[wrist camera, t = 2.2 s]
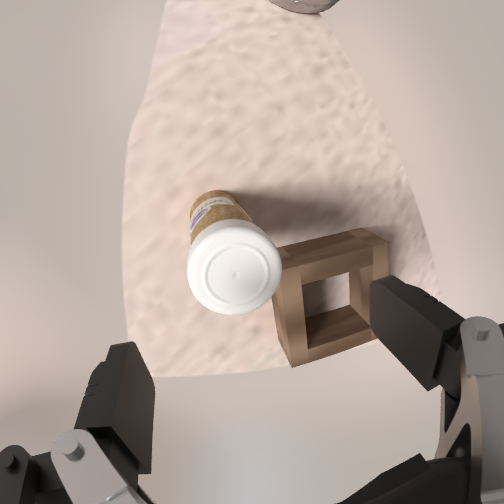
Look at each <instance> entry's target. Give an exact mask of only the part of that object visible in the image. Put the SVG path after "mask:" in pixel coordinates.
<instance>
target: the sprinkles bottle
mask: <svg viewBox="0 0 504 504" xmlns="http://www.w3.org/2000/svg"><path fill="white" fill-rule="evenodd" d="M190 240H191V248H190V250H189V254H188V261H187V273H188V281H189V285H190V288H191V290H192V292H193V294H194V295H195V297H196V298H197V299H198V300H199V301H200V303H202V304H203V305H204V306H205V307H207V308H208V309H210V310H212V311H215V312H217V313H221V314H226V315H239V314H244V313H248V312H251V311H253V310H255V309H257V308H259V307H261V306H262V305H263V304H265V303H266V302H267V301H268V300H269V299H270V298H271V297H272V296H273V294H274V293H275V291H276V289H277V287H278V285H279V282H280V279H281V274H282V263H281V258H280V255H279V252H278V250H277V248H276V246H275V245H274V243H273V242H272V241H271V239H270V238H269V237H268V235H267V234H266V233H265V232H264V231H263V230H262V229H261V228H259V227H258V226H256V225H255V223H254V222H253V220H252V219H251V218H250V217H249V216H248V214H247V213H246V212H245V211H244V210H243V209H242V208H241V207H240V206H239V205H238V203H237V201H236V200H235V199H234V198H233V197H232V196H231V195H229V194H227V193H225V192H222V191H210V192H207V193H205V194H203V195H202V196H200V197H199V198H197V199H196V201H195V202H194V203H193V205H192V208H191V212H190Z"/></svg>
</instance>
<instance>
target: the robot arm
mask: <svg viewBox="0 0 504 504" xmlns="http://www.w3.org/2000/svg"><path fill="white" fill-rule="evenodd" d="M270 1H271V2H273V3H275V4H276V5H278V6H280V7H282V8H285V9H287V10H291V11H295V12H299V13H318V12H323V11H325V10H327V9H329V8H331V7H332V6H333V5H334V4H335V3H336V2H338V1H339V0H270ZM369 320H370V326H371V329H372V331H373V333H374V335H375V336H376V337H377V338H378V339H379V340H380V341H381V342H382V343H383V344H384V345H385V346H386V347H387V348H388V349H389V350H390V351H391V353H392V354H393V355H394V356H395V357H396V358H397V359H398V360H399V361H400V362H401V363H402V364H403V365H404V366H405V367H406V368H407V370H409V372H410V373H411V374H412V375H413V376H414V377H415V378H416V379H417V380H418V381H419V383H420V384H421V385H422V386H423V387H424V388H425V389H426V390H427V391H429V390H431V389H433V388H434V387H436V386H438V385H441V386H442V387H443V389H442V393H441V420H440V438H439V444H438V448H437V451H436V454H435V458H434V459H432V460H428V461H425V459H424V458H423V457H422V455H421V454H420V453H419V454H417V455H416V456H414V457H412V458H410V459H409V460H407V461H405V462H403V463H401V464H399V465H397V466H395V467H393V468H392V469H389V470H388V471H385V472H383V473H381V474H380V475H379V476H377V477H376V478H375V479H374V480H372V481H371V482H369V483H368V484H367V485H365V486H364V487H363V488H361V489H360V490H358V491H357V492H356V493H354V494H353V495H351V496H350V497H349V498H347V499H345V500H344V501H342V502H340V503H337V504H504V323H503V324H499V325H498V324H497V323H495V322H494V321H493V320H491V319H489V318H485V317H478V316H477V317H471V318H468V319H464V318H463V317H461V316H460V315H459V314H457V313H456V312H454V311H453V310H452V309H450V308H449V307H447V306H446V305H444V304H443V303H441V302H440V301H439V302H438V300H437V299H436V298H434V297H433V296H430V294H428V293H427V292H425V291H424V290H422V289H421V288H418V287H415V286H412V285H409V284H405V283H404V282H403V281H401V280H400V279H398V278H397V277H395V276H393V275H389V276H386V277H383V278H380V279H377V280H374V281H372V282H371V285H370V317H369ZM154 402H155V387H154V383H153V380H152V377H151V375H150V373H149V371H148V369H147V367H146V365H145V362H144V360H143V358H142V356H141V354H140V352H139V350H138V348H137V346H136V344H135V343H134V342H133V341H131V342H126V343H120V344H115V345H111V346H110V349H109V352H108V355H107V358H106V361H104V362H100V364H99V365H98V366H97V367H96V368H95V370H94V371H93V372H92V374H91V377H90V380H89V383H88V387H87V388H86V391H85V396H84V398H83V401H82V404H81V407H80V410H79V413H78V417H77V420H76V423H75V427H74V430H70V431H67V432H65V433H64V434H62V435H60V436H59V437H58V438H57V439H56V441H55V442H54V444H53V446H52V449H51V452H47V453H43V454H39V455H35V456H31V455H30V454H29V453H27V451H26V450H25V449H24V448H23V447H21V446H18V445H11V446H8V447H6V448H5V449H3V450H2V451H1V452H0V504H156V503H155V502H154V501H153V500H152V499H151V498H150V497H149V496H148V495H147V494H146V492H145V491H144V490H143V489H142V488H141V487H140V486H139V485H138V474H151V459H152V432H153V417H154Z"/></svg>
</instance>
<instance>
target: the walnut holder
mask: <svg viewBox="0 0 504 504" xmlns="http://www.w3.org/2000/svg"><path fill="white" fill-rule="evenodd" d="M277 250H278V252H279V255H280V258H281V263H282V274H281V279H280V282H279V285H278V287H277V289H276V291H275V293H274V294H273V296H272V302H273V308H274V315H275V321H276V327H277V333H278V339H279V341H280V344H281V346H282V348H283V350H284V352H285V354H286V356H287V358H288V360H289V363H290V365H291V367H292V368H293V367H296V366H300V365H302V364H306V363H309V362H312V361H315V360H318V359H322V358H325V357H327V356H331V355H334V354H336V353H339V352H342V351H345V350H348V349H351V348H353V347H356V346H359V345H361V344H364V343H367V342H369V341H372V340H374V339H377V337H376V336H375V335H374V333H373V331H372V329H371V326H370V320H369V317H370V285H371V282H372V281H374V280H377V279H380V278H383V277H386V276H388V267H389V242H387V241H385V240H383V239H381V238H379V237H378V236H376V235H374V234H372V233H370V232H368V231H366V230H364V229H362V228H360V229H356V230H351V231H347V232H343V233H338V234H334V235H330V236H326V237H321V238H317V239H313V240H309V241H304V242H300V243H296V244H291V245H287V246H283V247H279V248H277ZM347 272H349V286H350V305H348V306H345V307H342V308H339V309H336V310H333V311H329V312H326V313H323V314H319V315H316V316H313V317H309V318H306V319H305V314H304V305H303V295H302V286H301V285H303V284H307V283H311V282H314V281H318V280H322V279H325V278H329V277H332V276H336V275H340V274H343V273H347Z"/></svg>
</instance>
